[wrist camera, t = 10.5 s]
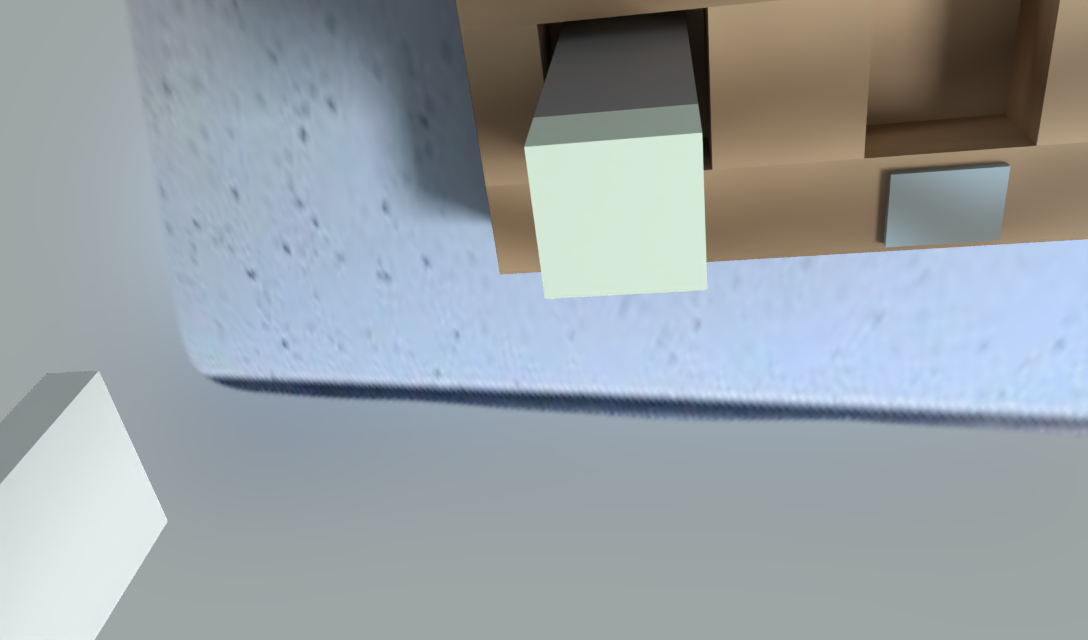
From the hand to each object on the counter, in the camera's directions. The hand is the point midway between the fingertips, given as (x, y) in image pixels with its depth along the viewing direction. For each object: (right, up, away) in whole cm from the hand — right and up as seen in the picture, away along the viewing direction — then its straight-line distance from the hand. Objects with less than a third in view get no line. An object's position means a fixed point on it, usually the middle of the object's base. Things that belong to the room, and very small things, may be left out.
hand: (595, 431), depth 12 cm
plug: (+2, +10, +20) cm, 22 cm away
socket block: (+7, +11, +20) cm, 24 cm away
